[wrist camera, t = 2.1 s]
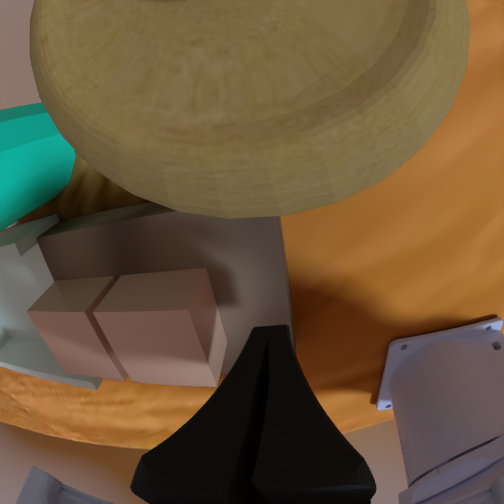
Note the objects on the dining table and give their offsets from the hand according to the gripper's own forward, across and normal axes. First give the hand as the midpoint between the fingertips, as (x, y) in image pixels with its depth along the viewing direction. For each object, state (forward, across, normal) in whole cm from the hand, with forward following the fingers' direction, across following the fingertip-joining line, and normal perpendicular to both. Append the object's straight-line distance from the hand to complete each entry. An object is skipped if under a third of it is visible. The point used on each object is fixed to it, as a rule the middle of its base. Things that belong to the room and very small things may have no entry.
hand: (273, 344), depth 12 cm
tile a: (+3, +5, 0) cm, 6 cm away
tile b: (+3, +10, 0) cm, 10 cm away
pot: (+5, -1, -12) cm, 13 cm away
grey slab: (+5, +6, 0) cm, 8 cm away
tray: (+5, +20, 0) cm, 20 cm away
